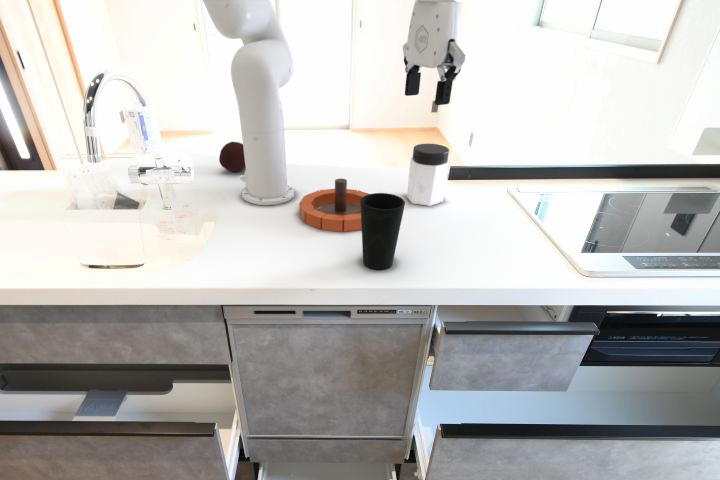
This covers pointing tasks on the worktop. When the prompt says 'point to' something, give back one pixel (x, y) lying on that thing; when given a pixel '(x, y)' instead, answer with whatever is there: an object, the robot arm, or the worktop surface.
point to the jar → (428, 174)
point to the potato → (232, 157)
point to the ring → (330, 220)
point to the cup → (380, 228)
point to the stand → (340, 201)
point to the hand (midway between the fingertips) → (426, 99)
